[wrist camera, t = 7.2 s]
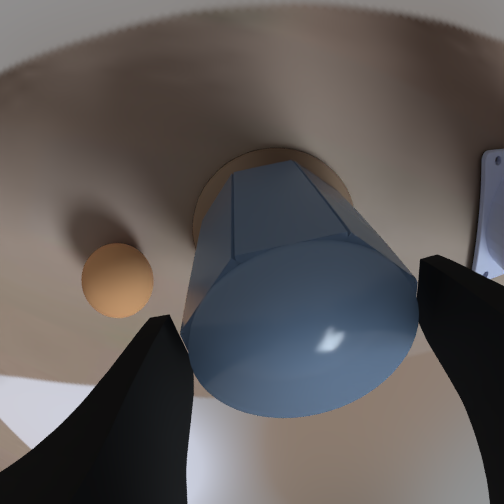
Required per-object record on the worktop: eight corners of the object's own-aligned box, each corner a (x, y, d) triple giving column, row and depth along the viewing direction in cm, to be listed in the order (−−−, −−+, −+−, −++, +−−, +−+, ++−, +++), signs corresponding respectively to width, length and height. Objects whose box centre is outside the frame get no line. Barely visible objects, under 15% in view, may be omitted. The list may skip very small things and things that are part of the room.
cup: (334, 152, 12) (427, 221, 6) (346, 273, 15) (405, 389, 9) (190, 182, 12) (150, 281, 6) (226, 299, 15) (225, 429, 9)
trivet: (342, 134, 12) (345, 135, 12) (356, 276, 15) (358, 280, 15) (173, 170, 12) (171, 173, 12) (218, 307, 16) (217, 312, 15)
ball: (145, 223, 13) (124, 259, 11) (168, 283, 15) (157, 327, 12) (86, 240, 14) (57, 276, 11) (112, 295, 15) (92, 337, 12)
